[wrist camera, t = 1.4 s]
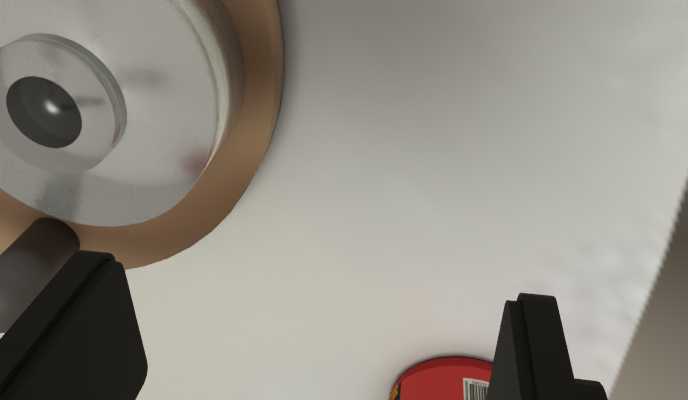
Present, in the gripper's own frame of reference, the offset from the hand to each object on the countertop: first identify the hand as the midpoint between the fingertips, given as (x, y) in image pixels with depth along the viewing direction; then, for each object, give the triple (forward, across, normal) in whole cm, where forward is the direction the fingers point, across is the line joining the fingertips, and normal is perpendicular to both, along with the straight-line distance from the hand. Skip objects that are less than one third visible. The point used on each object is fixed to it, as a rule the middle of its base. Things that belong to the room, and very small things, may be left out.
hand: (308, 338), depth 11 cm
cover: (+13, +10, 0) cm, 17 cm away
